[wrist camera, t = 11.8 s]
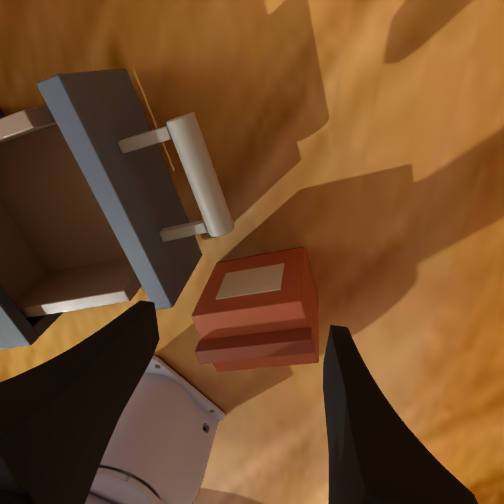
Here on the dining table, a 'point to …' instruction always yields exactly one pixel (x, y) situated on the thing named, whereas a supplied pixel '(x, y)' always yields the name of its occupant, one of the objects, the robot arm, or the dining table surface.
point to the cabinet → (19, 321)
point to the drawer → (99, 199)
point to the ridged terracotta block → (259, 313)
